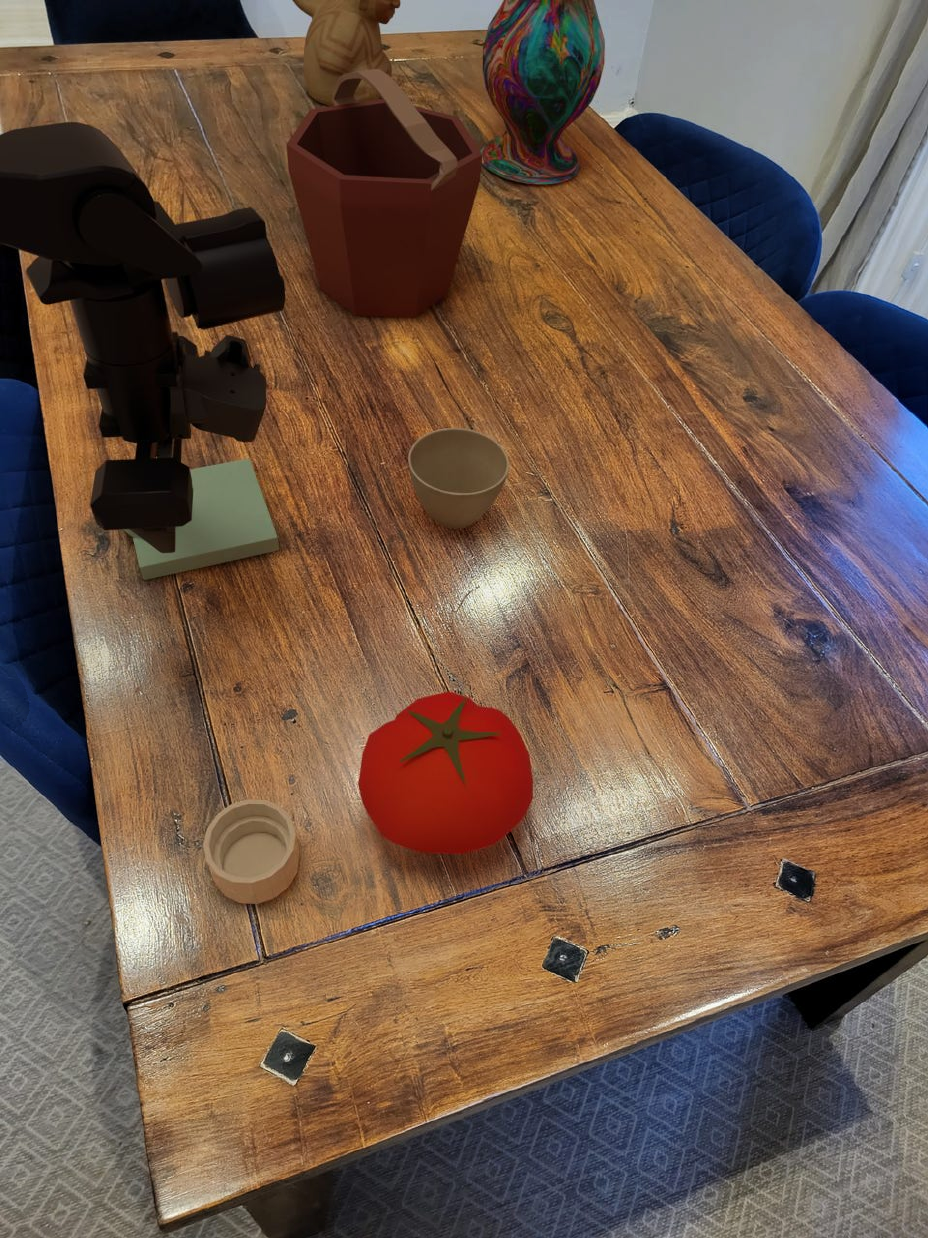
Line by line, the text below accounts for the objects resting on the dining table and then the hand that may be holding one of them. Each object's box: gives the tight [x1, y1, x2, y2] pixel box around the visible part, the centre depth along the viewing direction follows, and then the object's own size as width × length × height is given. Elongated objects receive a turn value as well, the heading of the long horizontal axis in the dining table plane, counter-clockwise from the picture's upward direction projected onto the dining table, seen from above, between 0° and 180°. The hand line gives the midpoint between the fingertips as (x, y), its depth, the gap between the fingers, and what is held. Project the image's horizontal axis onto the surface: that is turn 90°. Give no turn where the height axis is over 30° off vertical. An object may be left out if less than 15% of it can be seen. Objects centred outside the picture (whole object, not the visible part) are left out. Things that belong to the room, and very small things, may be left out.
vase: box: [480, 0, 606, 185], centre depth 132 cm, size 18×18×30 cm
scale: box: [122, 458, 280, 581], centre depth 86 cm, size 14×12×4 cm
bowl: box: [202, 798, 300, 905], centre depth 65 cm, size 6×6×4 cm
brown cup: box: [407, 427, 510, 530], centre depth 89 cm, size 10×10×7 cm
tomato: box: [357, 690, 534, 855], centre depth 66 cm, size 13×12×11 cm
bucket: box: [286, 69, 483, 319], centre depth 108 cm, size 24×22×25 cm
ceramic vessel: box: [291, 0, 402, 107], centre depth 145 cm, size 17×20×25 cm
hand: (171, 509), depth 70 cm, fingers open, 9 cm apart
